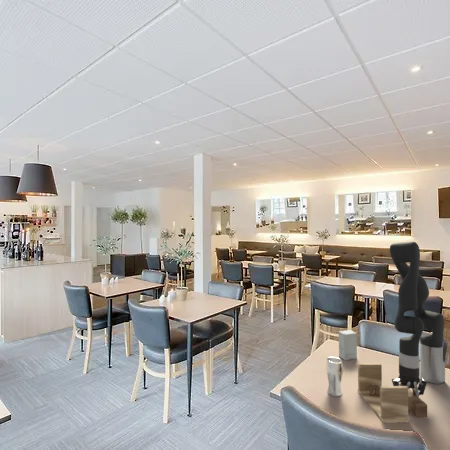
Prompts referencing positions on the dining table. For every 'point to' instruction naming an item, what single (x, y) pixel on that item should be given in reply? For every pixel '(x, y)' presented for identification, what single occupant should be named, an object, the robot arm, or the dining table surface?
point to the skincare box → (347, 344)
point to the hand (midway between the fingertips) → (409, 403)
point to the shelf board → (416, 405)
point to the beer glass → (334, 375)
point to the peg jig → (382, 394)
